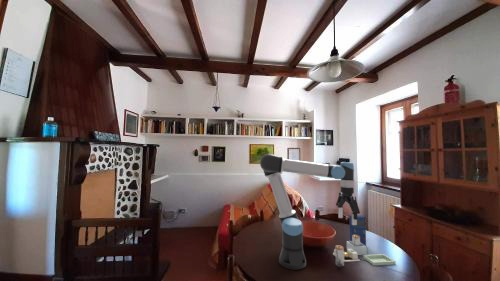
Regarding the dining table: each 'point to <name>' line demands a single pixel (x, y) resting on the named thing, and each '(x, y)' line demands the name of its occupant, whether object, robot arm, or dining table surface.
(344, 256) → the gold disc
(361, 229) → the electronic device
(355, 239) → the cell
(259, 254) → the dining table surface
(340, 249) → the cell
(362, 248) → the grey open box
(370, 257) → the trough
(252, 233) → the dining table surface
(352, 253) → the cradle
